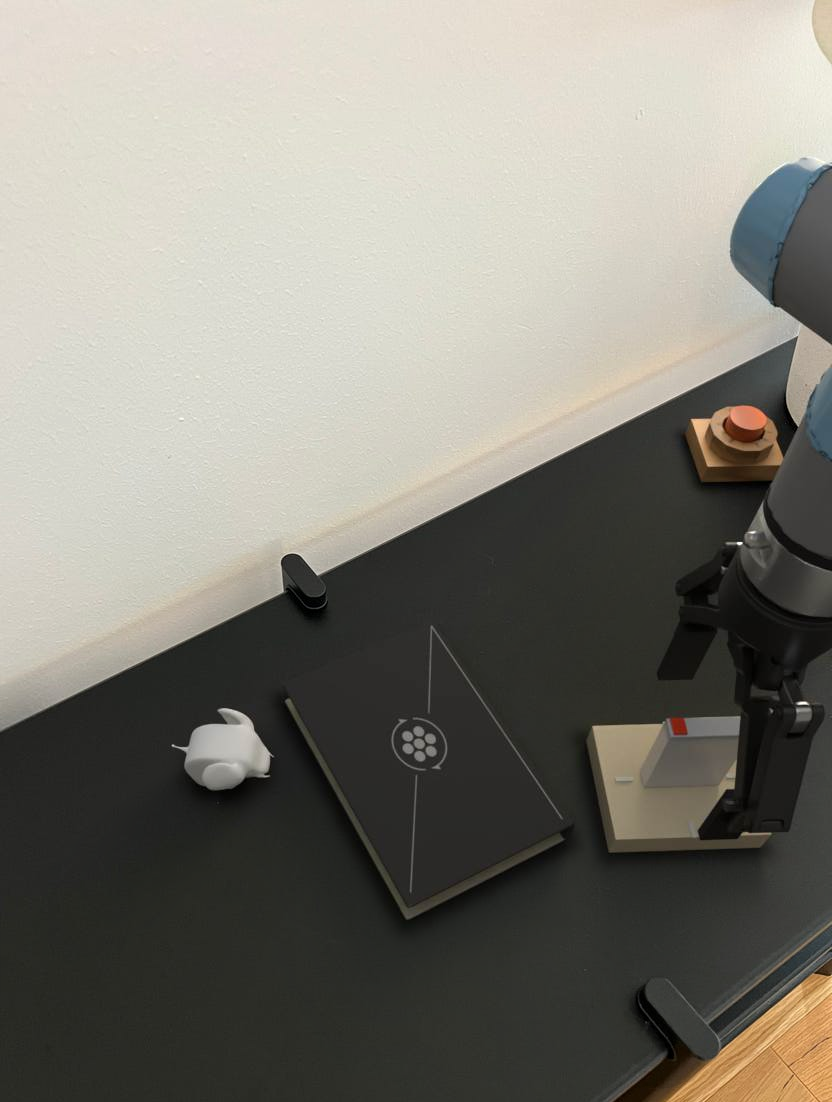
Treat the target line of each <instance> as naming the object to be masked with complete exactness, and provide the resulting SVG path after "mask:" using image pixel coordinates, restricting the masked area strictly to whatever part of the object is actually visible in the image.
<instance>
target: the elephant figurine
mask: <svg viewBox="0 0 832 1102" xmlns="http://www.w3.org/2000/svg"><path fill="white" fill-rule="evenodd" d="M216 712H217V713H219V714H220V716H221V717H222V718H223V719H224V721H225V722H226V724H225V723H209V724H203V725H200V726H198V727H196V728H195V729H194V730H193V731H192V733H191V735H190V739H189V743H188V745H187V746H184V747H183V746H176V745H175V744H171V747H172V748H176V749H179V750H181V751H183V752H184V753H185V754H186V756H185V759H184V764H183V765H184V767H183V768H184V770H185V772H186V773H187V774H188V776H190V777H191V779H192V780H193V781H195V783H196V784H198V785H199V786H201V787H206V788H207V789H208V790H210V791H222V790H227V789H228V790H232V789H234V788H236V786H239V785H240V784H241V783H242V782H243V781H244V780H245V779H247V778H254V777H255V778H263V779H264V778H270V775H265V774H267V773H269V770H270V766H271V757H272V758H275V756H273V754H271V752H270V751H269V749H268V748H267V747H266V746H265V744H264V743H263V742H262V739H261V738H260V736H259V735H258V734H257V732H256V731H255V727H254V723H253V721H252V720H251V719H250V718H249V717H248V716H247V715H245V714H244V713H242V712H241V711H238V710H234V709H231V708H227V707H224V708H223V707H222V708H219V709H217V711H216Z"/></svg>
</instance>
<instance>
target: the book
mask: <svg viewBox="0 0 832 1102" xmlns="http://www.w3.org/2000/svg"><path fill="white" fill-rule="evenodd" d="M282 687H283V689H284V691H285V692H286V695H287V697H288V698H287V699H285V700H284V704H285V707H286V708H287V710H288V711H289V713H290V715H291V717H292V719H293V720H294V723H295V724H296V726H297V727H298V729H299V731H300V733H301V735H302V736H303V738H304V740H305V742H306V745H307V746H308V747H309V749H310V752H311V753H312V755H313V756H314V758H315V760H316V762H317V763H318V765H319V767H320V769H321V771H322V773H323V774H324V776H325V778H326V780H327V781H328V783H329V785H330V787H331V789H332V790H333V792H334V794H335V796H336V798H337V800H338V802H339V804H340V805H341V808H343V810H344V812H345V814H346V816H347V818H348V820H349V821H350V823H351V825H352V827H353V828H354V830H355V832H356V834H357V836H358V837H359V839H360V842H361V843H362V845H363V846H364V848H365V850H366V852H367V853H368V855H369V857H370V859H371V860H372V863H373V865H374V866H375V868H376V870H377V871H378V873H379V875H380V877H381V879H382V881H383V882H384V884H385V886H386V888H387V889H388V892H389V894H390V895H391V897H392V899H393V901H394V902H395V904H396V906H397V908H398V909H399V911H400V913H401V915H402V917H403V919H404V921H407V922H409V921H411V920H413V919H415V918H417V917H419V916H421V915H422V914H425V913H426V912H428V911H431V910H433V909H435V908H436V907H438V906H441V905H442V904H444V903H446V902H448V901H450V900H452V899H454V898H456V897H458V896H460V895H462V894H464V893H466V892H467V891H469V890H472V889H474V888H476V887H477V886H479V885H481V884H483V883H485V882H488V881H489V880H492V879H493V878H495V877H497V876H499V875H501V874H504V873H506V872H507V871H509V870H511V869H512V868H515V867H516V866H518V865H520V864H522V863H524V862H527V861H528V860H530V859H532V858H534V857H536V856H538V855H540V854H542V853H544V852H546V851H548V850H550V849H552V848H554V847H556V846H557V845H559V844H562V843H563V842H565V841H567V839H568V838H569V837H570V836H571V835H572V833H573V831H574V829H575V826H576V824H575V822H574V820H573V818H572V817H571V816H570V814H569V812H568V811H567V810H566V808H565V807H564V805H563V804H562V802H561V801H560V800H559V797H557V796H556V794H555V793H554V791H553V789H552V788H551V786H549V784H548V782H547V781H546V780H545V778H544V777H543V776H542V774H541V773H540V771H539V769H538V768H537V767H536V765H535V764H534V762H533V761H532V760H531V758H530V757H529V755H528V754H527V753H526V751H525V750H524V748H523V747H522V745H521V744H520V743H519V741H518V740H517V738H516V737H515V736H514V734H513V733H512V731H511V730H510V728H509V727H508V725H507V724H506V722H505V721H504V719H503V718H502V717H501V715H500V714H499V713H498V711H497V709H496V708H495V707H494V705H493V704H492V702H491V701H490V700H489V698H488V697H487V695H486V694H485V692H484V691H483V689H482V688H481V687H480V685H479V683H478V682H477V681H476V679H475V678H474V677H473V675H472V674H471V672H470V671H469V669H468V668H467V666H466V665H465V663H464V662H463V661H462V660H461V658H460V656H459V655H458V654H457V652H456V651H455V649H454V648H453V647H452V645H451V644H450V642H449V641H448V640H447V638H446V636H445V634H444V633H443V632H442V631H441V629H440V628H439V626H438V625H437V624H436V622H435V621H434V620H432V621H427V622H425V623H423V624H421V625H418V626H416V627H413V628H411V629H408V630H406V631H404V632H401V633H399V634H396V635H394V636H391V637H389V638H387V639H385V640H382V641H379V642H377V643H375V644H372V645H370V646H368V647H365V648H364V649H361V650H358V651H356V652H354V653H351V654H349V655H346V656H344V657H342V658H339V659H337V660H335V661H332V662H330V663H327V664H325V665H323V666H320V667H318V668H316V669H313V670H311V671H309V672H306V673H304V674H301V675H299V676H296V677H294V678H292V679H290V680H287V681H284V683H283V684H282Z"/></svg>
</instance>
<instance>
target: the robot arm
mask: <svg viewBox="0 0 832 1102" xmlns="http://www.w3.org/2000/svg"><path fill="white" fill-rule="evenodd" d="M729 238H730V239H729V257H730V260H731V263H732V265H733V268H734V269H735V270H736V272H737V273H738V274H740V276H741V277H743V279H744V280H746V281H747V282H748V283H749V284H750V285H751V286H752V287H753V288H754V289H755V290H756V291H757V292H758V293H759V294H761V296H762V297H764V299H766V300H767V301H768V302H769V304H770V305H771V306H772V307H774V308H776V309H777V308H780V309H781V310H783V311H784V312H786V313H787V314H788V315H790V317H792V318H794V319H795V320H796V321H798V322H799V323H800V324H802V325H803V326H805V327H806V328H807V329H809V330H810V331H811V332H812V333H814V334H816V335H817V336H818V337H820V338H821V339H823V340H824V341H825V342H827V343H828V344H830V345H831V346H832V162H831V161H830V162H825V161H823V160H822V159H819V158H818V157H814V156H803V157H801V158H799V159H798V160H795V161H792V160H791V161H786V162H784V163H783V164H782V165H780V166H778V167H777V168H775V169H774V170H773V171H772V172H770V173H769V174H768V175H767V176H766V177H765V178H764V179H762V181H760V183H759V184H757V186H756V187H755V189H753V191H752V193H750V195H749V196H748V197H747V199H746V200H745V202H744V204H743V205H742V207H741V208H740V211H739V213H738V214H737V217H736V219H735V221H734V224H733V227H732V230H731V233H730V237H729ZM783 458H784V459H783V461H782V463H781V465H780V467H779V469H778V472H777V474H776V476H775V478H774V480H773V481H771V483H770V484H769V486H768V489H767V491H766V492H765V495H764V499H763V500H762V502H761V504H760V506H759V508H758V509H757V512H756V514H755V516H754V517H753V519H752V521H751V524H750V525H749V528H748V530H747V531H746V532H745V534H744V535H743V537H742V538H743V539H742V541H729V542H726V541H725V542H722V543H721V545H720V546H719V548H718V549H717V551H716V553H715V555H714V557H713V558H711V559H710V560H708V561H706V562H705V563H703V564H701V565H700V566H698V567H697V568H695V569H693V570H692V571H691V572H688V573H687V574H685V575H684V576H683V577H681V578H679V579H678V580H677V581H676V583H675V587H674V588H675V593H676V596H677V597H682V599H683V604H680V605H679V608H678V616H679V621H678V623H677V625H676V628H675V630H674V632H673V636H672V638H671V641H670V642H669V645H668V647H667V648H666V651H665V654H664V656H663V657H662V659H661V662H660V664H659V666H658V668H657V670H656V677H657V680H658V681H659V682H661V681H662V682H663V681H692V680H694V677H695V675H696V673H697V672H698V670H699V668H700V666H701V664H702V662H703V660H704V658H705V656H706V654H707V652H708V650H709V649H710V647H711V645H712V643H713V641H714V639H715V637H716V635H717V634H718V632H719V631H718V629H721V630H722V631H727V642H726V645H727V648H728V651H729V654H730V656H731V658H732V661H733V667H734V670H735V683H734V684H735V685H734V697H733V703H734V705H735V707H736V708H738V709H739V710H740V715H739V716H740V728H739V740H738V751H737V763H736V775H735V787H734V789H726V790H725V792H724V793H723V795H722V796H721V798H720V799H719V800H718V802H717V803H716V805H715V806H714V808H713V809H712V810H711V812H710V813H709V815H708V816H707V818H706V819H705V821H704V822H703V823H702V825H701V826H700V828H699V829H698V835H699V838H700V840H728V839H738V838H739V837H740V835H741V834H742V833H743V832H748V833H771V834H772V833H789V832H790V829H791V826H792V822H793V818H794V815H795V811H796V806H797V802H798V799H799V795H800V790H801V787H802V783H803V779H804V775H805V771H806V768H807V764H808V759H809V755H810V752H811V747H812V744H813V740H814V737H815V735H816V734H817V732H818V730H819V728H820V727H821V725H822V724H823V722H824V720H825V718H826V717H825V716H826V711H825V706H824V704H823V703H822V702H821V701H807V698H806V696H805V694H804V691H803V689H802V687H801V685H802V684H803V682H804V679H805V675H806V670H807V667H808V665H809V664H810V663H811V662H812V661H814V660H815V659H817V658H819V657H821V656H823V655H824V654H826V653H827V652H829V651H830V650H831V649H832V362H831V363H830V365H829V366H828V368H827V369H826V371H824V372H823V373H822V375H821V376H820V381H819V382H818V383H817V384H815V386H814V388H813V390H812V391H811V395H809V398H808V401H807V405H806V408H805V412H804V414H803V416H802V418H801V420H800V423H799V425H798V427H797V429H796V431H795V433H794V435H793V438H792V439H791V442H790V444H789V446H788V448H787V450H786V453H785V455H784V456H783ZM715 594H717V603H710V599H709V596H713V595H715ZM753 689H754V690H762V691H769V692H777V694H775V695H753V696H752V690H753Z"/></svg>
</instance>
